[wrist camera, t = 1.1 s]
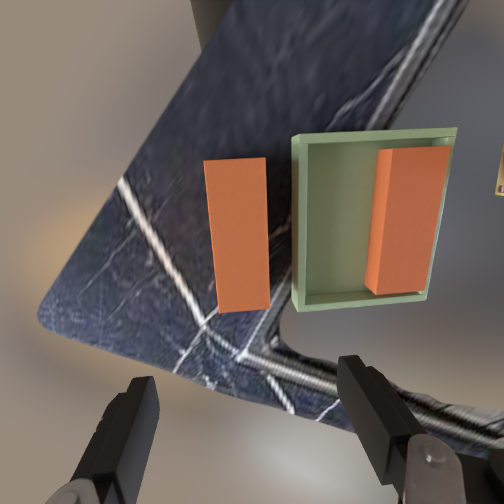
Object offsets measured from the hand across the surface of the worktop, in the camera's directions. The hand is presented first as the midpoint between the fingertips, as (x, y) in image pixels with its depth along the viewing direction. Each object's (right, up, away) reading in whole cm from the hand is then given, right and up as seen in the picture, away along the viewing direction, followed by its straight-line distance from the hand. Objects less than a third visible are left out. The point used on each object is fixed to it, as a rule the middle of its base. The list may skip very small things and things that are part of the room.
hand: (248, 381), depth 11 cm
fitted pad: (+15, +9, +17) cm, 24 cm away
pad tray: (+12, +9, +17) cm, 22 cm away
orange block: (-1, +8, +16) cm, 18 cm away
